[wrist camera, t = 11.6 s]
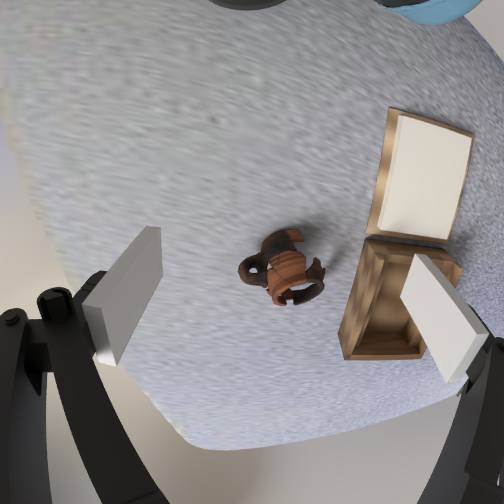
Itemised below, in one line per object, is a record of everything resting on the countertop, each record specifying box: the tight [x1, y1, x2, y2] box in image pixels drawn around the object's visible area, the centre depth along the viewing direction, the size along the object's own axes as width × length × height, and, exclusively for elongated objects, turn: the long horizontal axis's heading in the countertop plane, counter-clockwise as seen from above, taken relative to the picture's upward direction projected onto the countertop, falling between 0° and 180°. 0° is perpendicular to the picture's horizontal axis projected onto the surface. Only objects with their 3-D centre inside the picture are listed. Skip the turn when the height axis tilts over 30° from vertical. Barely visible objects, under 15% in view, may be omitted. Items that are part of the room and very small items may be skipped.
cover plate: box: [377, 115, 472, 240], centre depth 38 cm, size 16×12×2 cm
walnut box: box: [338, 239, 463, 360], centre depth 44 cm, size 18×15×6 cm
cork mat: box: [366, 108, 474, 244], centre depth 38 cm, size 18×15×1 cm
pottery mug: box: [238, 229, 325, 306], centre depth 43 cm, size 12×10×8 cm
